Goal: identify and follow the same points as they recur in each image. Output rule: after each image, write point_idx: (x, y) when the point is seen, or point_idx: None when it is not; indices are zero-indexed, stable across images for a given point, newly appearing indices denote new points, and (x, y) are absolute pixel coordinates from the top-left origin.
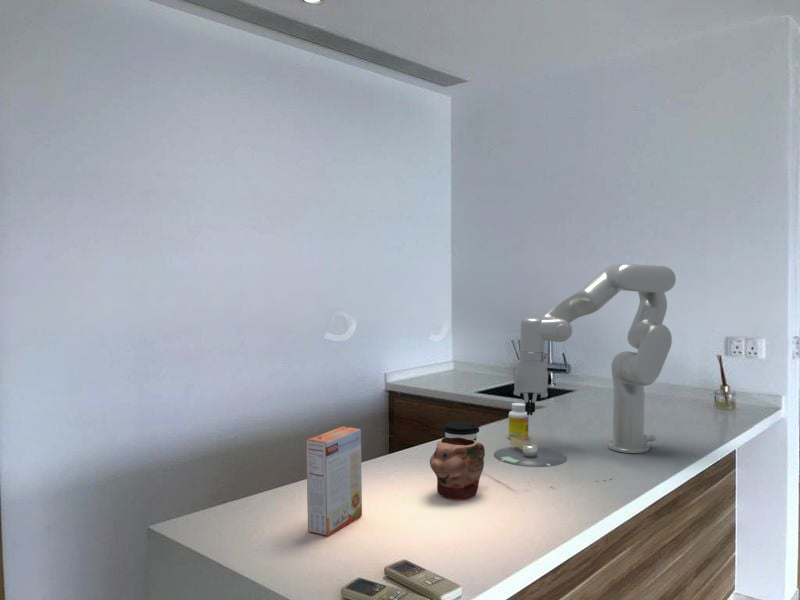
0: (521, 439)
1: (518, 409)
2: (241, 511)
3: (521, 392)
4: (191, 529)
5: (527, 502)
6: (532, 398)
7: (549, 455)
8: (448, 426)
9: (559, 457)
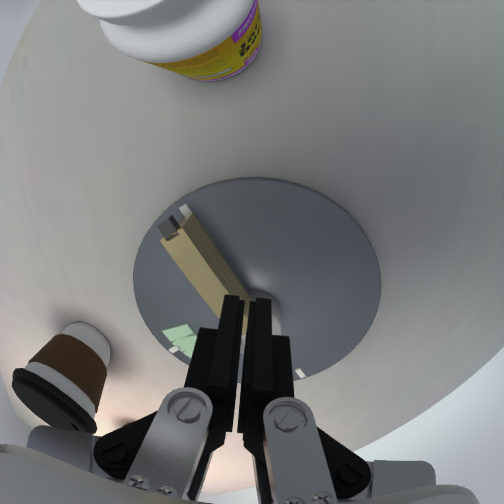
0: (214, 292)
1: (144, 22)
2: (26, 413)
3: (108, 478)
4: (32, 425)
5: (241, 453)
6: (255, 477)
7: (326, 294)
8: (37, 415)
9: (354, 311)
